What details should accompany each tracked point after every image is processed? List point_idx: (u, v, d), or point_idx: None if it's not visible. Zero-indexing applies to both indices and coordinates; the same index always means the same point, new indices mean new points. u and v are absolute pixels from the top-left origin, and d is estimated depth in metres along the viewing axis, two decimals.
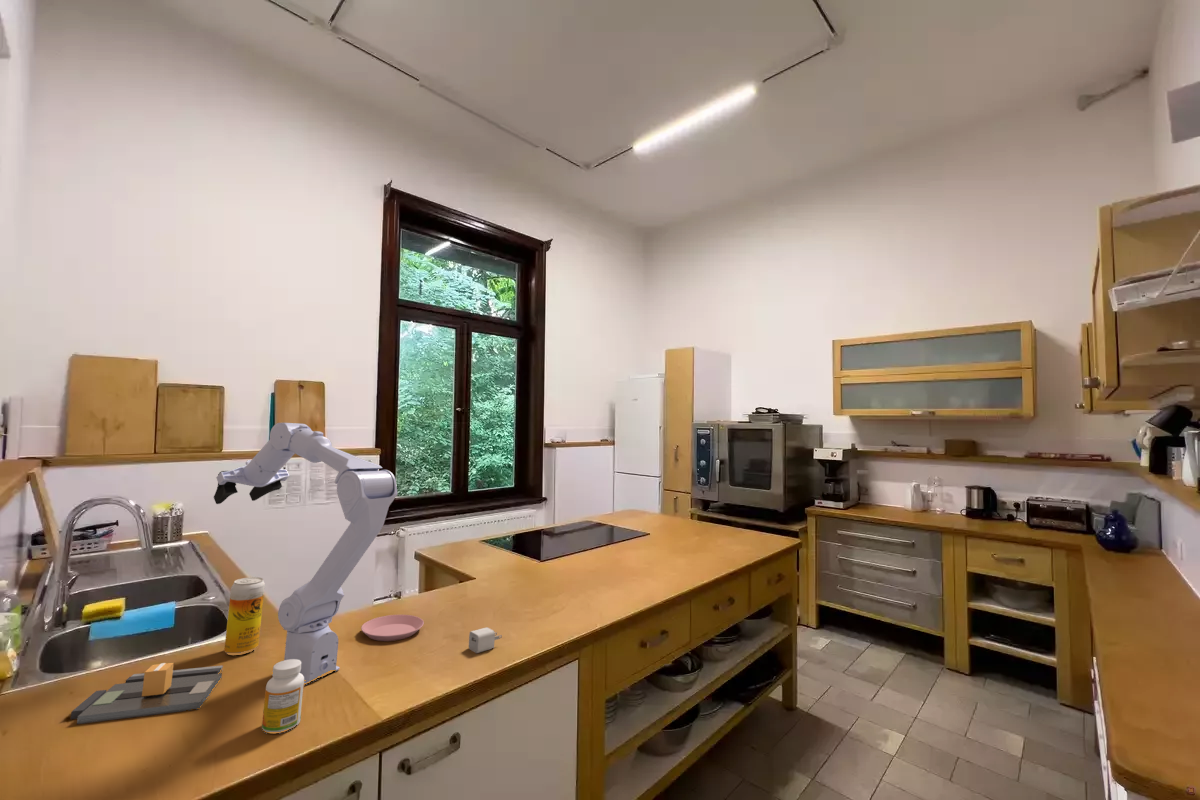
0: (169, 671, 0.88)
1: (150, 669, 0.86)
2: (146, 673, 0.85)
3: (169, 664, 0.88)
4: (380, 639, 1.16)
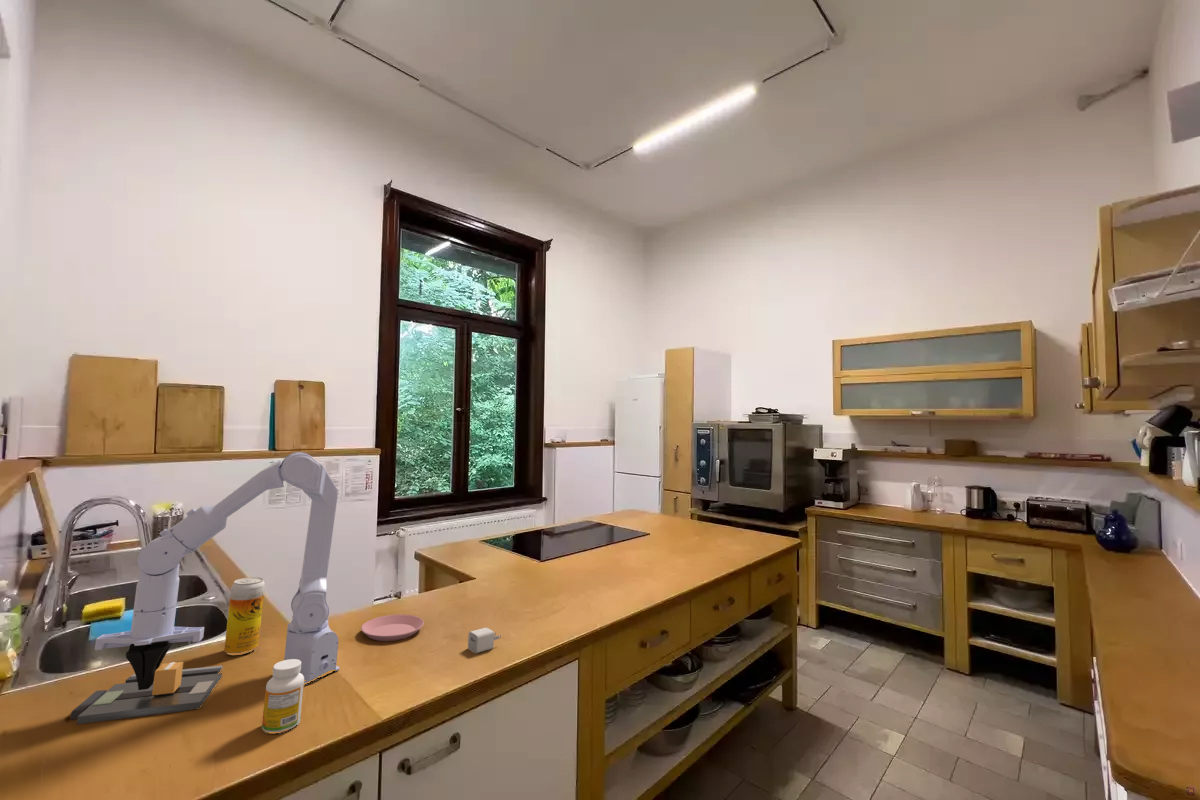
0: (179, 670, 0.88)
1: (160, 668, 0.87)
2: (156, 672, 0.86)
3: (179, 663, 0.89)
4: (380, 639, 1.16)
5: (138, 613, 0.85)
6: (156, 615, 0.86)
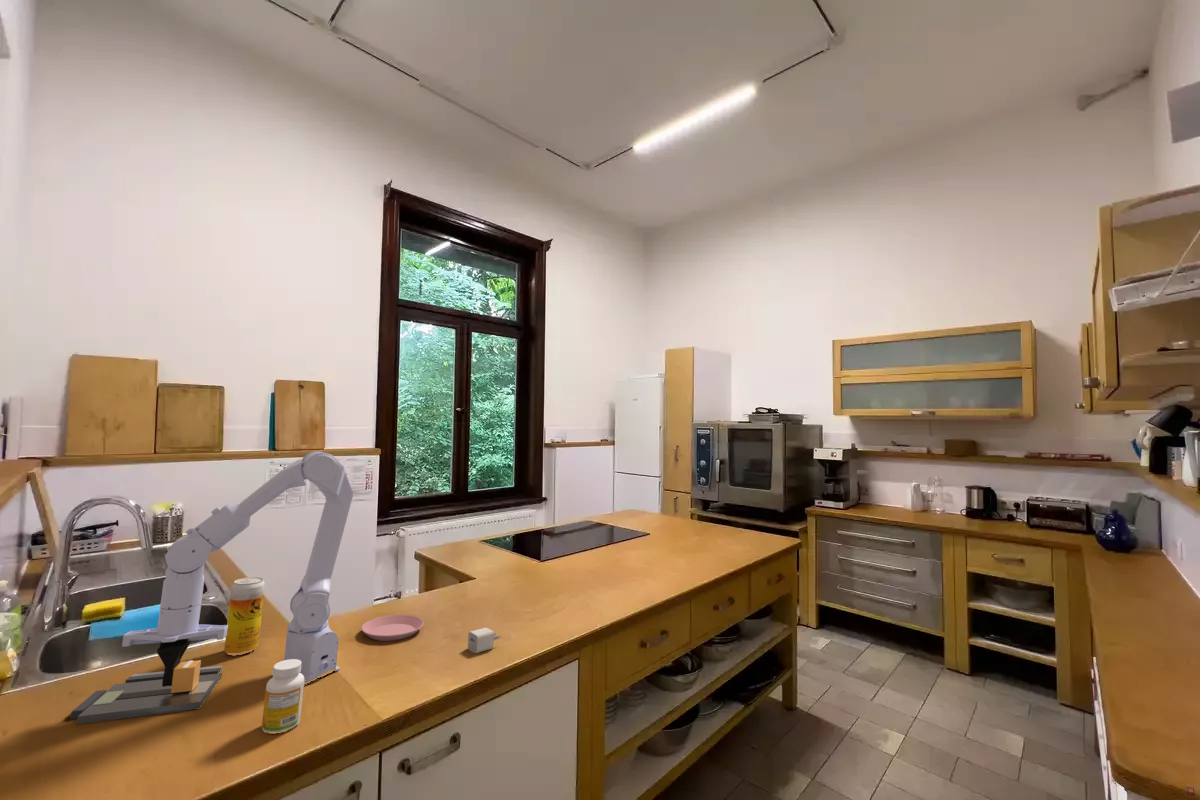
0: (197, 668, 0.89)
1: (179, 666, 0.88)
2: (175, 670, 0.87)
3: (197, 661, 0.90)
4: (380, 639, 1.16)
5: (165, 610, 0.86)
6: (182, 613, 0.87)
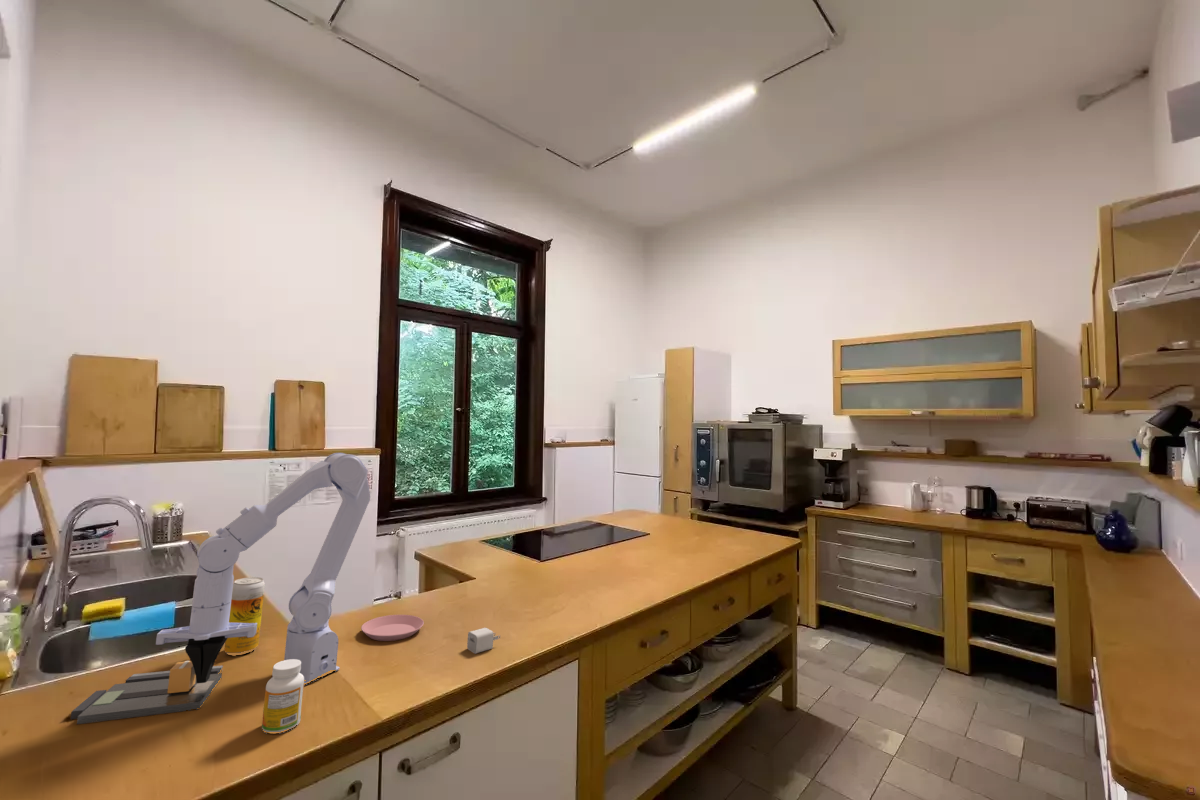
0: None
1: (175, 667, 0.88)
2: (171, 670, 0.87)
3: None
4: (380, 639, 1.16)
5: (197, 609, 0.88)
6: (214, 611, 0.89)
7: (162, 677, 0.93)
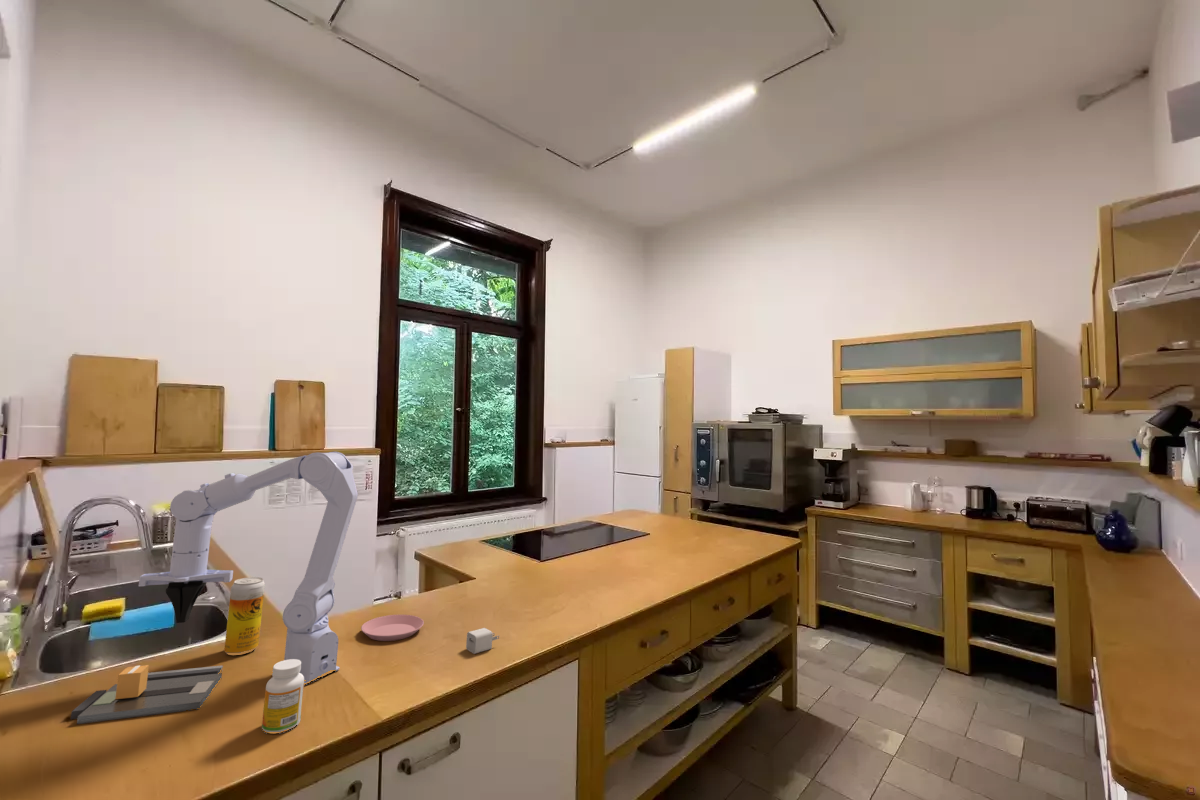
0: (144, 673, 0.87)
1: (124, 672, 0.85)
2: (120, 676, 0.84)
3: (144, 666, 0.87)
4: (381, 639, 1.16)
5: (176, 554, 0.96)
6: (192, 556, 0.96)
7: (162, 677, 0.93)
